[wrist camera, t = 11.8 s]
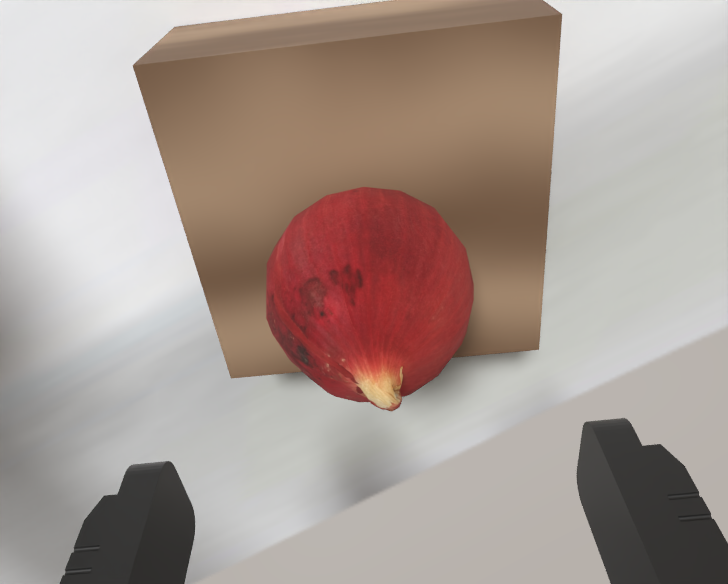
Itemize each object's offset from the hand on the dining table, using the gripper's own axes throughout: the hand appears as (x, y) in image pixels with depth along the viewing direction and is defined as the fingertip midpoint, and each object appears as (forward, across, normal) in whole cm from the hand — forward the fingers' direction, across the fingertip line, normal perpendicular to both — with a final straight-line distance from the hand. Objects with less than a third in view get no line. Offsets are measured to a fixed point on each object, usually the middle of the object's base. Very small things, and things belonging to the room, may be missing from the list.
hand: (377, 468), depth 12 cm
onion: (+10, 0, 0) cm, 10 cm away
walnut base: (+15, 0, 0) cm, 15 cm away
